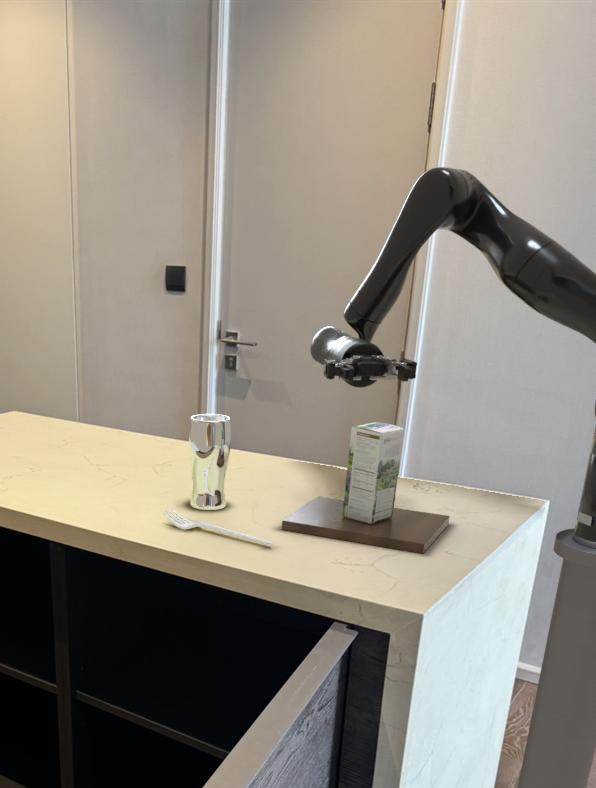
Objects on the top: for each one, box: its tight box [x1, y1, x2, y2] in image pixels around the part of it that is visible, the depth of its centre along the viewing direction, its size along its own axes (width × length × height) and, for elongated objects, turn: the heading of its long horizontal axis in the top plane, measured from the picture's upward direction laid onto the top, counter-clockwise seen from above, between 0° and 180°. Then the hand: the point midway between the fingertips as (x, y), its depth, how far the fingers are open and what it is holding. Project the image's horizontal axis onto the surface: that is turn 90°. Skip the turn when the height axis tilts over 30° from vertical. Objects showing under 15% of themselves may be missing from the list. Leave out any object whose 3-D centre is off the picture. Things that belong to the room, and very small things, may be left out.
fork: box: [162, 508, 273, 547], centre depth 133 cm, size 3×20×2 cm, turn 49°
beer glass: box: [188, 413, 232, 511], centre depth 145 cm, size 7×7×15 cm
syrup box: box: [342, 421, 405, 524], centre depth 133 cm, size 6×6×14 cm
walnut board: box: [281, 496, 451, 554], centre depth 136 cm, size 22×16×2 cm
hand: (379, 374), depth 134 cm, fingers open, 8 cm apart
